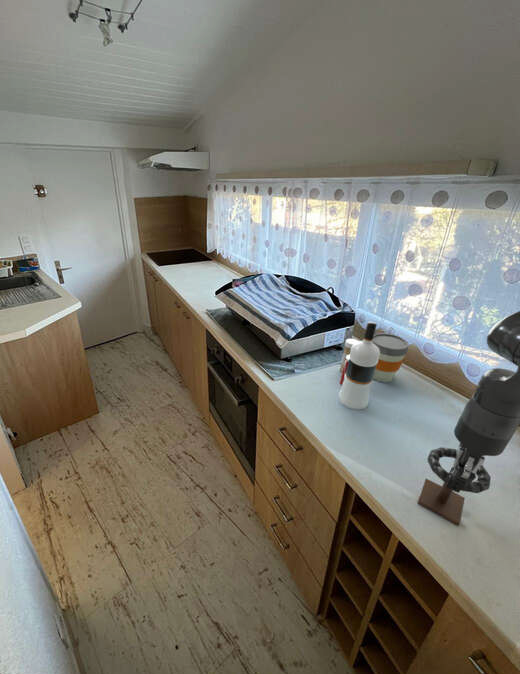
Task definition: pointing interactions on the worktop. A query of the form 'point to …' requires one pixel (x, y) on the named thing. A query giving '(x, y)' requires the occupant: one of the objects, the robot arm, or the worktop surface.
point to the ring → (433, 461)
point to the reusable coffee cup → (389, 355)
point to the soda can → (344, 370)
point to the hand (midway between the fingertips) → (453, 484)
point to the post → (442, 501)
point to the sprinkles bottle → (347, 350)
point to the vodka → (360, 371)
